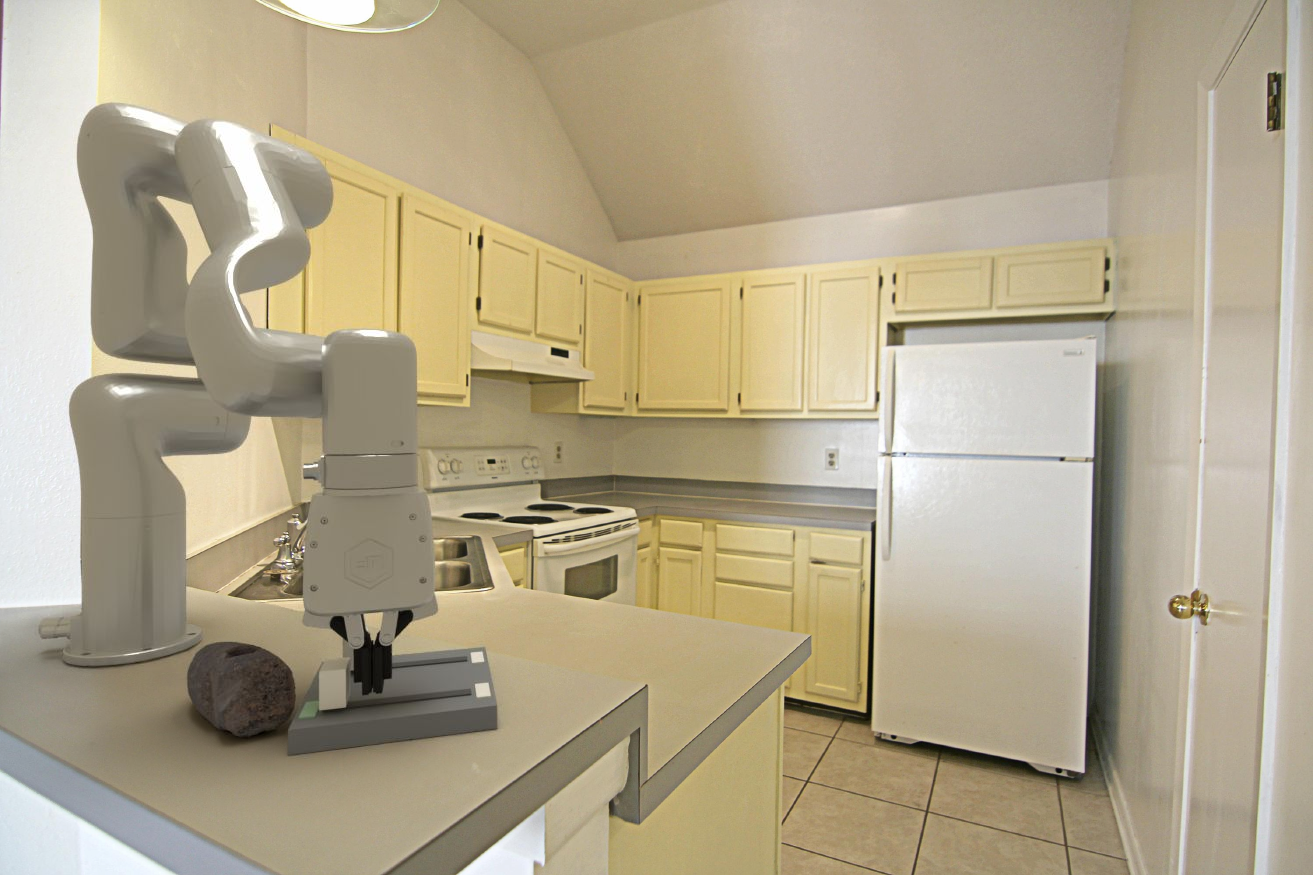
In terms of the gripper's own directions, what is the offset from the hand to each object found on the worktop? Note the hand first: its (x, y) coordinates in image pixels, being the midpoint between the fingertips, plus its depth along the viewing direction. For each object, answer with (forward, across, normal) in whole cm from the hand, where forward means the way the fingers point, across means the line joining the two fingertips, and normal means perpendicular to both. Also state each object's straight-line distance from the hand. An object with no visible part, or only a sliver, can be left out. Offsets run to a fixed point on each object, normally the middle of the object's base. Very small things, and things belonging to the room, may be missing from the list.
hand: (373, 688), depth 57 cm
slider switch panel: (+3, +2, +5) cm, 6 cm away
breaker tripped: (+1, -3, 0) cm, 3 cm away
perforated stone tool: (+4, -12, +6) cm, 14 cm away
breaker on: (+1, -2, +9) cm, 9 cm away
